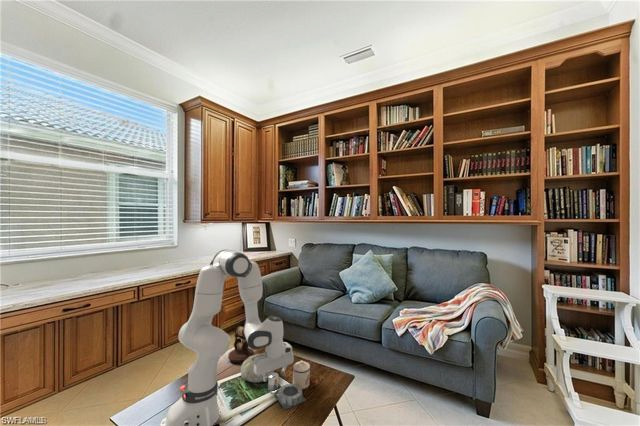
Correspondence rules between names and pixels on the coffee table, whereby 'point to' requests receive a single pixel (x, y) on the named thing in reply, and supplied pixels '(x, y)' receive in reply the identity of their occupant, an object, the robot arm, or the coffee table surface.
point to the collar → (290, 396)
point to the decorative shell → (251, 370)
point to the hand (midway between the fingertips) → (274, 377)
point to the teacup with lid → (301, 374)
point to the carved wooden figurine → (240, 346)
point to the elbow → (273, 381)
